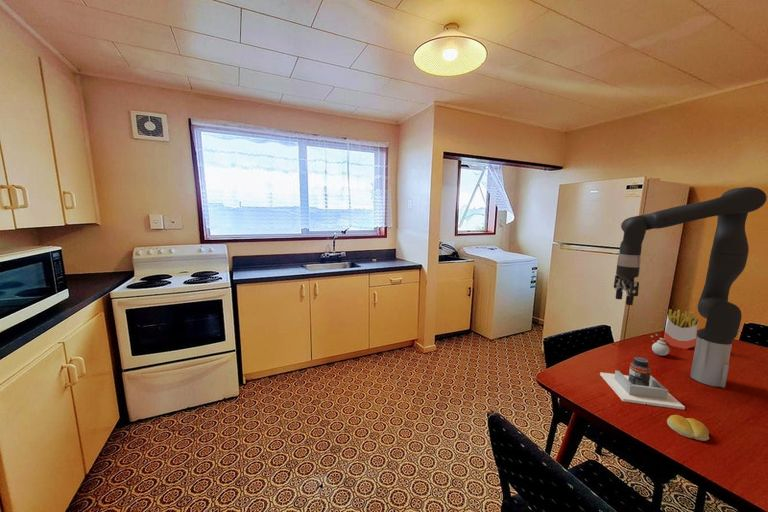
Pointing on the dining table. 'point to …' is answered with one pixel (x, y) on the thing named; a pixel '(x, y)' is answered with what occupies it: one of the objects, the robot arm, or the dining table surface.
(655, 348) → the ornament
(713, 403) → the dining table surface
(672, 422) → the bread roll
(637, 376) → the supplement bottle
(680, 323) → the french fries container
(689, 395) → the dining table surface
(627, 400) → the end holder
